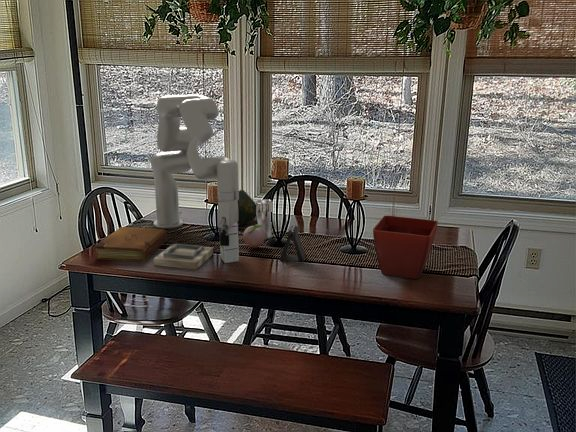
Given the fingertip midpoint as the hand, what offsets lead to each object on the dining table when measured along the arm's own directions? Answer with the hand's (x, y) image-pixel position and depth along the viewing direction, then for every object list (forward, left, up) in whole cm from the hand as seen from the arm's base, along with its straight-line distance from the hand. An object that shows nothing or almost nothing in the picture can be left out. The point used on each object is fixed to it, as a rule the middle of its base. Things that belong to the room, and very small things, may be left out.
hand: (229, 241), depth 210 cm
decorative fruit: (-14, +5, -7) cm, 17 cm away
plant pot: (-6, +62, -8) cm, 63 cm away
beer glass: (-28, +5, -7) cm, 30 cm away
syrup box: (0, 0, -7) cm, 7 cm away
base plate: (+4, -16, -7) cm, 18 cm away
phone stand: (-7, +22, -8) cm, 24 cm away
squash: (-44, -11, -8) cm, 46 cm away
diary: (0, -39, -8) cm, 40 cm away
